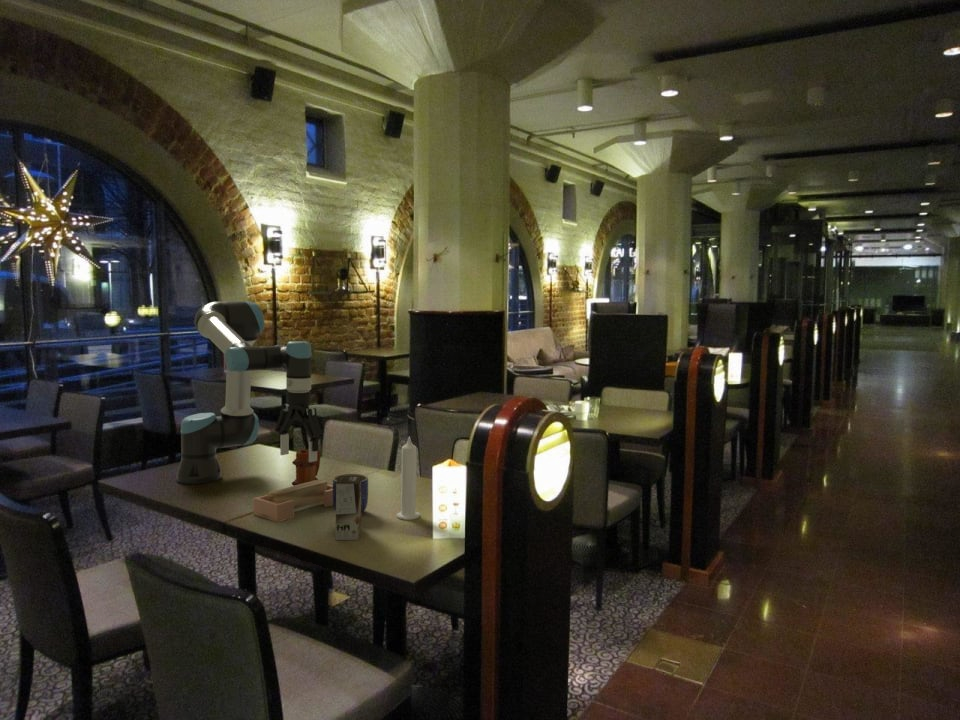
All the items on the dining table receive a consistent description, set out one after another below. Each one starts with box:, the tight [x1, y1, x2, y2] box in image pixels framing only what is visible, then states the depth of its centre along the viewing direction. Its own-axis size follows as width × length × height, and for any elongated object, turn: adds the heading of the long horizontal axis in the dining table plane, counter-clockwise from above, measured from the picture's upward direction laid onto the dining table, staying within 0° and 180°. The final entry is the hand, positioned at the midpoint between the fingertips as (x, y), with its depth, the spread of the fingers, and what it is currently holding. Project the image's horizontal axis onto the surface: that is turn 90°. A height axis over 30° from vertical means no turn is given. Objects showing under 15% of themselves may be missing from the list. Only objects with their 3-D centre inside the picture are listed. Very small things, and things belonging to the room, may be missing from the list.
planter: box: [332, 473, 369, 515], centre depth 216 cm, size 11×11×11 cm
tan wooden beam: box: [267, 478, 328, 509], centre depth 220 cm, size 4×20×6 cm, turn 144°
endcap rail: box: [252, 483, 334, 523], centre depth 220 cm, size 11×25×5 cm, turn 144°
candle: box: [396, 436, 421, 521], centre depth 213 cm, size 7×7×25 cm
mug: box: [291, 446, 321, 486], centre depth 241 cm, size 15×8×15 cm, turn 168°
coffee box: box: [335, 475, 362, 541], centre depth 196 cm, size 9×6×16 cm
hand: (298, 457), depth 219 cm, fingers open, 13 cm apart
